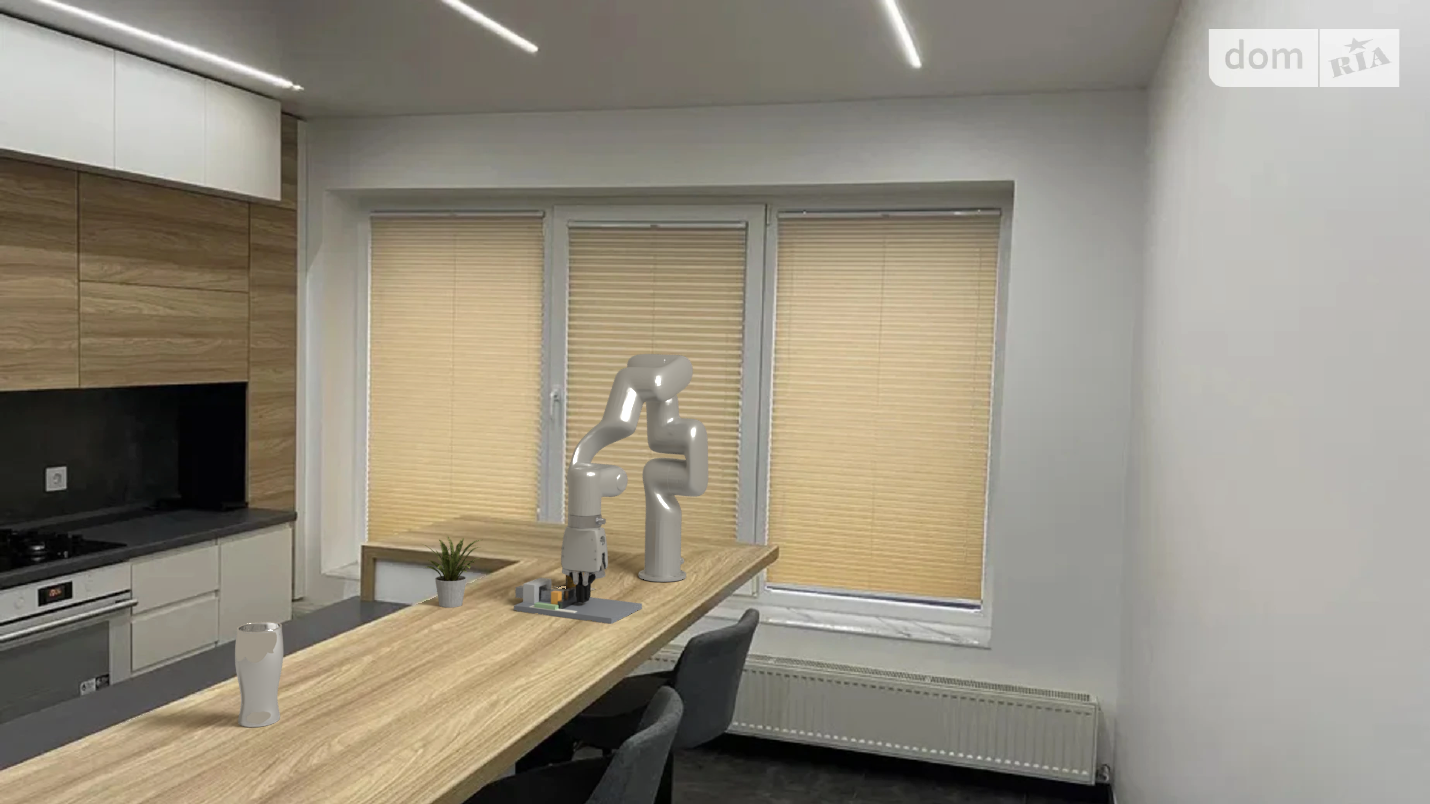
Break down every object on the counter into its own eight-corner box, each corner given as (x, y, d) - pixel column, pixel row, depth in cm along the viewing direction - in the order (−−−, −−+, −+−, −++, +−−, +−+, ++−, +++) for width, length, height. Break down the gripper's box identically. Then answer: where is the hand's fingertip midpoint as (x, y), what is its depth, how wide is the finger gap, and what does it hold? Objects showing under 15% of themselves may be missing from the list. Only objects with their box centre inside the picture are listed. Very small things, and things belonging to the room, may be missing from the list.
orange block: (554, 605, 235) (554, 590, 235) (561, 606, 234) (561, 591, 234) (550, 607, 233) (551, 592, 233) (557, 608, 233) (558, 592, 232)
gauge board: (548, 596, 249) (548, 574, 248) (641, 608, 239) (642, 585, 239) (513, 610, 235) (514, 587, 234) (611, 623, 225) (611, 599, 225)
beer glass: (244, 713, 166) (244, 620, 165) (289, 712, 167) (289, 620, 166) (227, 728, 159) (227, 632, 158) (274, 728, 160) (274, 632, 159)
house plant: (500, 602, 242) (501, 533, 241) (462, 615, 230) (462, 542, 229) (451, 595, 248) (452, 527, 247) (411, 607, 236) (412, 536, 235)
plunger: (525, 593, 246) (525, 579, 246) (581, 600, 240) (581, 585, 240) (504, 601, 238) (505, 586, 238) (562, 609, 232) (562, 593, 232)
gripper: (621, 522, 236) (619, 601, 237) (564, 517, 242) (562, 594, 243) (605, 527, 229) (604, 608, 230) (547, 521, 235) (546, 601, 236)
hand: (583, 601), depth 236 cm, fingers closed
